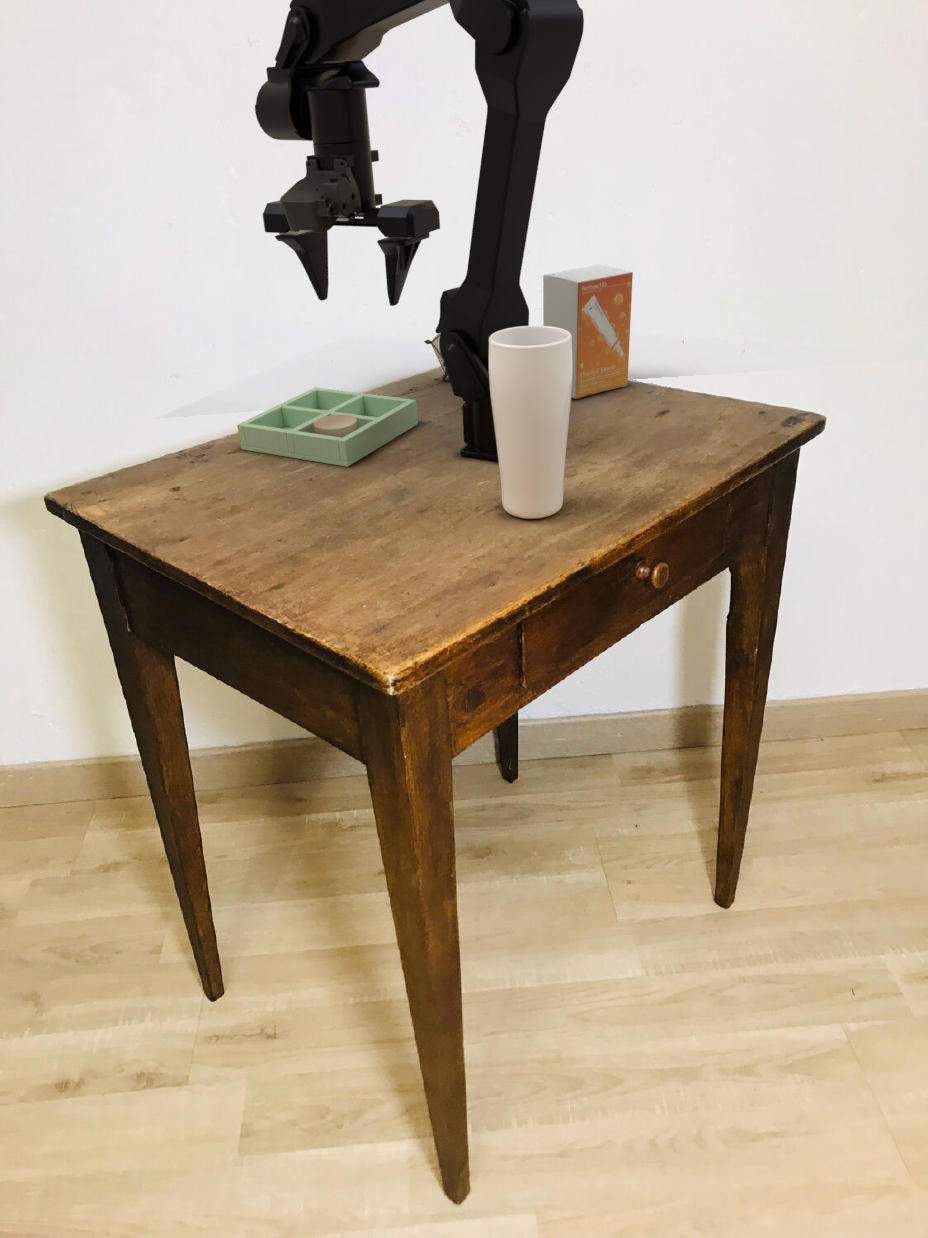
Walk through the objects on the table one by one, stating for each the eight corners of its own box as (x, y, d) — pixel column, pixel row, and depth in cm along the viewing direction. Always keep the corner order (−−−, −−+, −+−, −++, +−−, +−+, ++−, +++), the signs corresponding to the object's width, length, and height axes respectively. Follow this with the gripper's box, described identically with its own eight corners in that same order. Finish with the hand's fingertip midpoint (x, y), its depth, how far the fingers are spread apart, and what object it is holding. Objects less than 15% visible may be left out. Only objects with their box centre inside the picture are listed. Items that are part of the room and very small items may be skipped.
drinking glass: (579, 496, 85) (581, 326, 77) (560, 528, 79) (561, 348, 72) (506, 490, 87) (501, 323, 79) (483, 520, 82) (476, 344, 74)
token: (367, 439, 99) (365, 417, 97) (343, 453, 95) (340, 430, 94) (332, 434, 100) (330, 412, 99) (307, 448, 97) (304, 425, 96)
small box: (576, 400, 108) (577, 281, 102) (542, 388, 113) (541, 273, 106) (629, 386, 112) (634, 270, 105) (594, 374, 117) (596, 263, 110)
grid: (418, 423, 104) (416, 399, 103) (347, 467, 94) (344, 440, 93) (317, 410, 110) (314, 387, 109) (241, 449, 100) (236, 424, 99)
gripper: (216, 150, 93) (242, 313, 101) (376, 149, 85) (391, 326, 93) (285, 139, 101) (305, 291, 109) (437, 137, 93) (446, 301, 101)
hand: (358, 302), depth 103 cm, fingers open, 9 cm apart
